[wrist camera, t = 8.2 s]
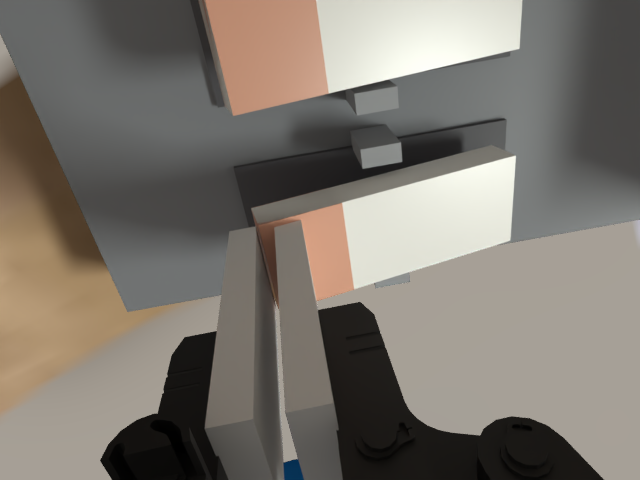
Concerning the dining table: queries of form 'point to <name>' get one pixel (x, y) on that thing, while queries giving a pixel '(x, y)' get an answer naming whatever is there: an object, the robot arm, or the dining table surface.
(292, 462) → the thermos
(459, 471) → the robot arm
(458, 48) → the switch
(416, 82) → the switch unit
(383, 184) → the switch
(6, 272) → the dining table surface
